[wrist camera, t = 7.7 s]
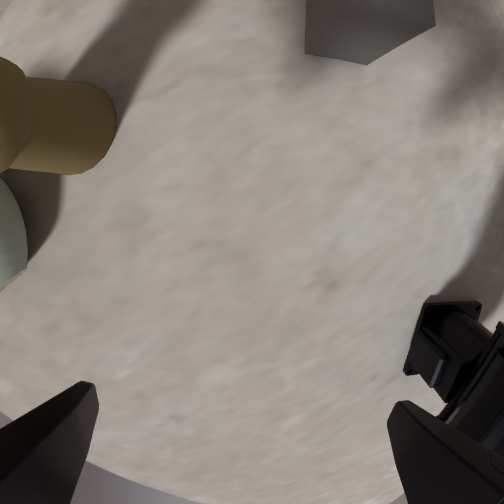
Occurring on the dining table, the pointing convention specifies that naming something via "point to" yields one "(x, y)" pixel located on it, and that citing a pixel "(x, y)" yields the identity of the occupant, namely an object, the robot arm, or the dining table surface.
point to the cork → (52, 123)
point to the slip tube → (364, 27)
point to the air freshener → (11, 238)
